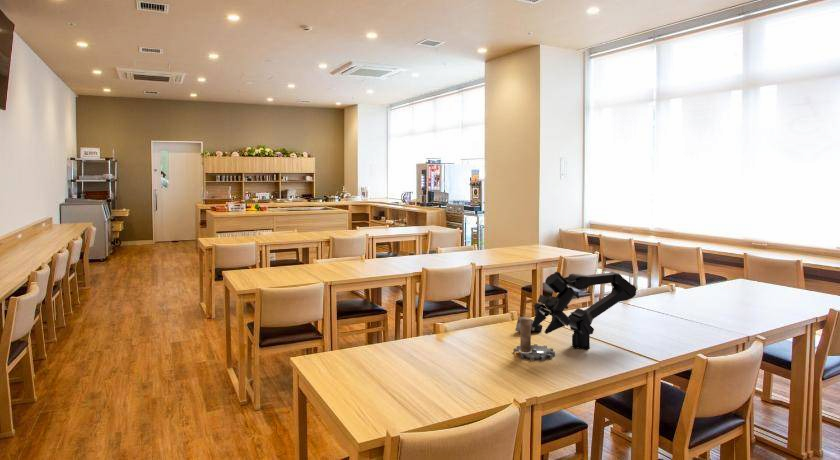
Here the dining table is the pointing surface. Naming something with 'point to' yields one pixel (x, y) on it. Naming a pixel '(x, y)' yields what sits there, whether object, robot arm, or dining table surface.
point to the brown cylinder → (525, 334)
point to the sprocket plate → (535, 353)
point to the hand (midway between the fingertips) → (538, 330)
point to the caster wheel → (537, 328)
